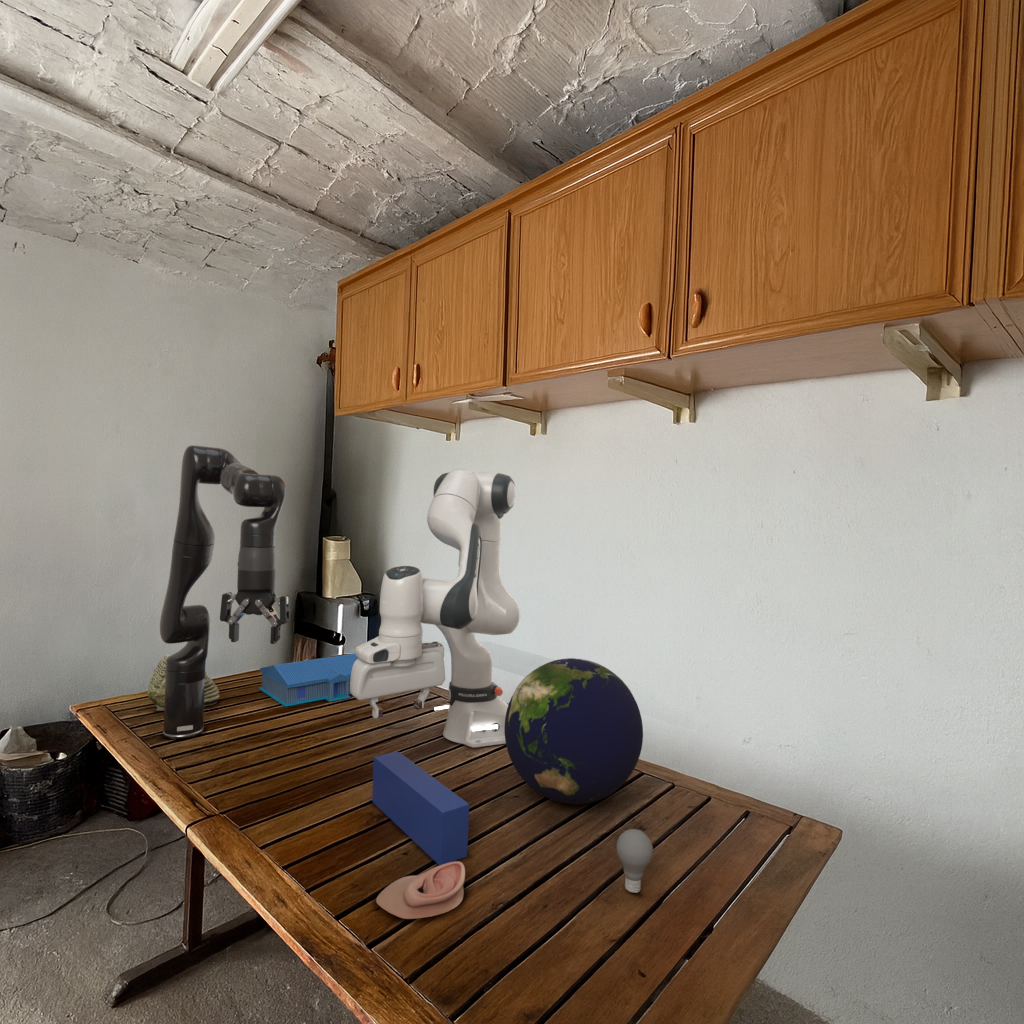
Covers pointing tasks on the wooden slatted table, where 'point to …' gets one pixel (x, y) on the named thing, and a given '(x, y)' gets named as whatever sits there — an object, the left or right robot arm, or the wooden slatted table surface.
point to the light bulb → (634, 857)
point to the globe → (573, 731)
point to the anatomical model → (425, 892)
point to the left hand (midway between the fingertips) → (254, 642)
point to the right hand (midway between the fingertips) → (398, 712)
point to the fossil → (158, 687)
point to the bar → (421, 807)
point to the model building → (309, 680)
